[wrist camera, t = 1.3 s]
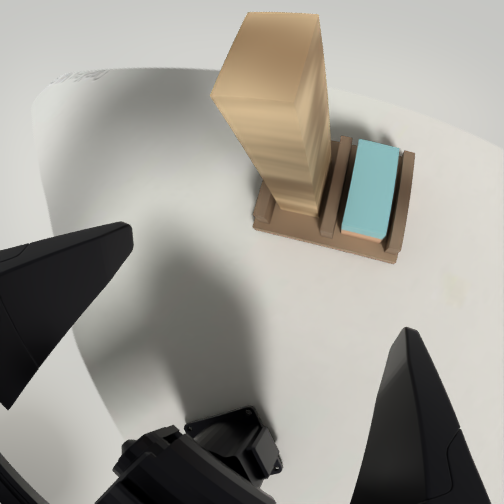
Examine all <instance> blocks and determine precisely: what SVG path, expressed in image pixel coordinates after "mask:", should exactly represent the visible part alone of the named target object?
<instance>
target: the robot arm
mask: <svg viewBox="0 0 504 504" xmlns="http://www.w3.org/2000/svg"><path fill="white" fill-rule="evenodd" d="M133 246H134V244H133V233H132V227H131V225H129V224H127V223H124V222H115V223H111V224H106V225H102V226H97V227H93V228H89V229H84V230H80V231H76V232H72V233H68V234H63V235H59V236H55V237H51V238H47V239H43V240H40V241H36V242H32V243H30V244H24V245H20V246H16V247H13V248H9V249H4V250H0V403H2V405H3V406H4V407H5V408H6V409H7V410H9V409H10V408H11V406H12V405H13V404H14V402H15V401H16V399H17V398H18V396H19V395H20V394H21V392H22V391H23V389H24V388H25V387H26V385H27V384H28V382H29V381H30V380H31V378H32V377H33V375H34V374H35V373H36V372H37V370H38V368H39V367H40V366H41V365H42V363H43V362H44V361H45V359H46V358H47V357H48V356H49V354H50V353H51V352H52V350H53V349H54V348H55V346H56V345H57V344H58V343H59V342H60V340H61V339H62V338H63V337H64V335H65V334H66V333H67V332H68V330H69V329H70V328H71V327H72V325H73V324H74V323H75V322H76V321H77V319H78V318H79V317H80V316H81V315H82V313H83V312H84V311H85V310H86V309H87V307H88V306H89V305H90V304H91V303H92V302H93V300H94V299H95V298H96V297H97V296H98V295H99V293H100V292H101V291H102V290H103V289H104V288H105V287H106V285H107V284H108V283H109V282H110V280H111V279H112V278H113V276H114V275H115V274H116V272H117V271H118V269H119V268H120V267H121V265H122V264H123V263H124V261H125V260H126V259H127V257H128V256H129V255H130V253H131V252H132V250H133ZM247 410H250V411H251V412H252V414H248V413H247ZM189 427H191V428H192V430H190V429H189ZM184 430H185V432H186V434H181V433H180V432H179V429H178V428H177V427H175V426H174V425H172V426H169V427H164V428H161V429H158V430H155V431H152V432H149V433H147V434H144V435H143V436H141V437H140V438H139V439H138V440H127V441H126V442H124V444H123V445H122V455H121V457H120V458H119V460H118V462H117V463H116V465H115V466H114V468H113V472H114V473H115V474H116V475H117V476H118V477H119V478H118V479H117V480H116V481H115V482H114V483H113V485H111V486H110V488H108V490H107V491H106V492H105V493H104V494H103V495H102V496H101V497H100V498H99V499H98V500H97V501H96V502H95V504H276V502H275V500H274V498H273V497H272V496H270V495H268V494H267V493H265V492H264V491H262V490H261V489H260V486H261V484H262V482H263V480H264V479H268V477H269V476H270V475H273V474H277V473H280V472H281V471H282V469H283V465H282V463H281V461H280V459H279V457H278V454H279V450H278V448H277V446H276V444H275V442H274V440H273V438H272V436H271V434H270V432H269V430H268V428H267V427H265V426H263V424H262V422H261V420H260V418H259V416H258V414H257V412H256V409H255V408H254V407H253V406H245V407H242V408H239V409H236V410H232V411H229V412H226V413H222V414H219V415H215V416H212V417H208V418H204V419H201V420H197V421H193V422H189V423H187V424H186V425H185V426H184ZM274 466H277V467H279V469H276V468H274ZM0 503H1V504H49V503H48V502H47V501H46V500H45V499H44V498H43V497H41V496H40V495H39V494H38V493H37V492H36V491H35V490H34V489H33V488H32V487H31V486H30V485H29V484H28V483H27V482H26V481H25V480H24V479H23V478H22V477H21V476H20V475H19V474H18V472H17V471H16V470H15V469H14V468H13V467H12V466H11V465H10V464H9V462H8V461H7V460H6V459H5V458H4V457H3V455H2V454H1V453H0ZM350 504H491V502H490V499H489V497H488V494H487V492H486V489H485V487H484V485H483V482H482V480H481V478H480V475H479V473H478V471H477V468H476V466H475V463H474V461H473V459H472V456H471V454H470V451H469V448H468V446H467V443H466V441H465V438H464V435H463V432H462V430H461V429H460V425H459V422H458V420H457V417H456V415H455V412H454V410H453V407H452V405H451V402H450V400H449V397H448V395H447V393H446V390H445V388H444V386H443V383H442V381H441V379H440V377H439V374H438V372H437V370H436V368H435V366H434V363H433V361H432V359H431V357H430V355H429V353H428V351H427V349H426V347H425V344H424V342H423V340H422V338H421V336H420V334H419V332H418V331H417V330H415V329H412V328H409V327H404V328H403V329H402V331H401V332H400V334H399V335H398V337H397V338H396V340H395V341H394V343H393V344H392V346H391V348H390V351H389V355H388V359H387V362H386V366H385V370H384V373H383V377H382V380H381V384H380V387H379V391H378V394H377V398H376V403H375V408H374V413H373V418H372V423H371V427H370V432H369V436H368V441H367V445H366V449H365V453H364V457H363V461H362V465H361V468H360V472H359V476H358V479H357V483H356V486H355V489H354V493H353V496H352V499H351V502H350Z"/></svg>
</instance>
